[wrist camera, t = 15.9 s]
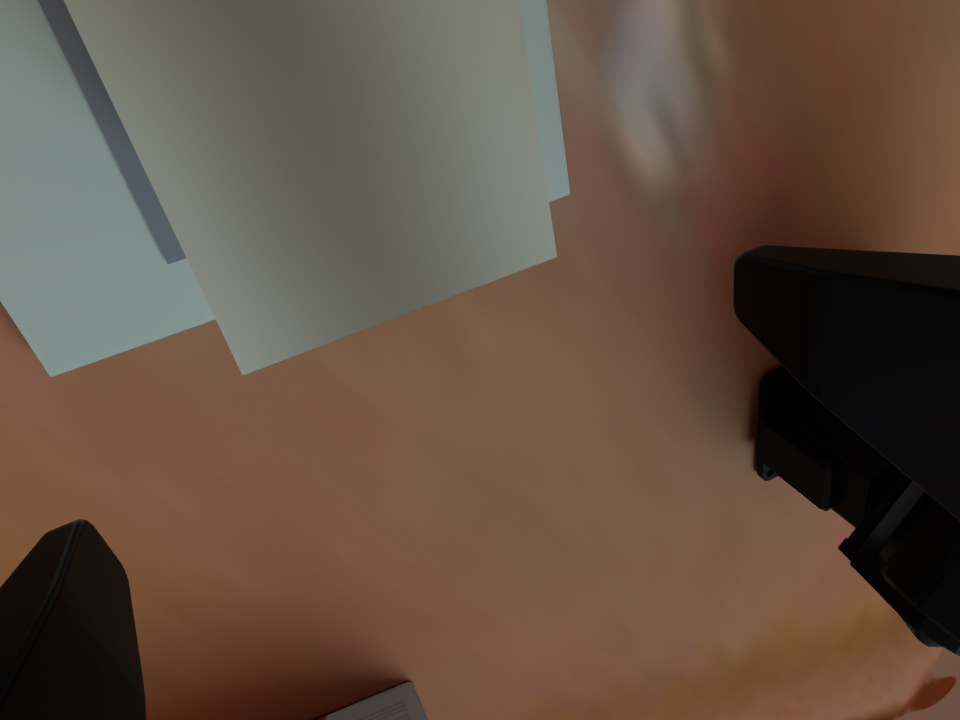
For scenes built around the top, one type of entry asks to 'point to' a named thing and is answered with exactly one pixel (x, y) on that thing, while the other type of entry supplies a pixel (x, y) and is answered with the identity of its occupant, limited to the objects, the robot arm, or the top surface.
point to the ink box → (385, 706)
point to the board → (119, 196)
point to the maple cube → (329, 153)
